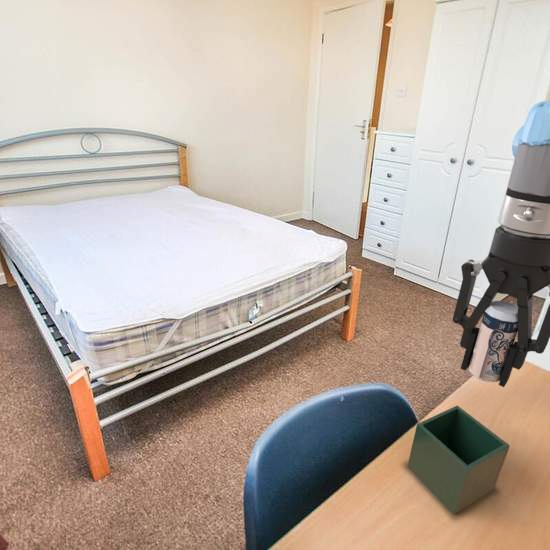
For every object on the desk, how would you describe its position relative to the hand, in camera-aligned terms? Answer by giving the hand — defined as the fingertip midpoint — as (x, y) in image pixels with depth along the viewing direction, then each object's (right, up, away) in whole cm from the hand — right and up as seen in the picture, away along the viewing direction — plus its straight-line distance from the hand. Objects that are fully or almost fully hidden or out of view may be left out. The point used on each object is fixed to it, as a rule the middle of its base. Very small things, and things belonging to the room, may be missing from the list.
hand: (484, 373), depth 59 cm
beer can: (0, 0, 0) cm, 0 cm away
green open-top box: (-3, -20, +6) cm, 21 cm away
